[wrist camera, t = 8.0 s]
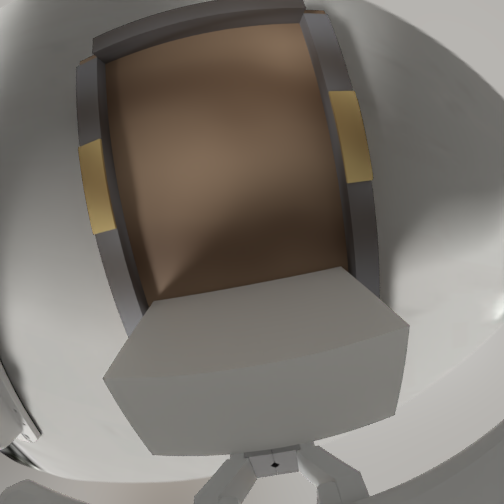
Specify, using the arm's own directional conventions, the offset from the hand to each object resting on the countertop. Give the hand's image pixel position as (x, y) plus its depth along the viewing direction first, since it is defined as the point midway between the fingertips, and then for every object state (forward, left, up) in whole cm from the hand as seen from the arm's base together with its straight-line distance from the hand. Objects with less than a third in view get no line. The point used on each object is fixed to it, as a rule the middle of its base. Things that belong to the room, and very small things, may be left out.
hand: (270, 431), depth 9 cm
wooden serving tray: (+6, 0, -7) cm, 9 cm away
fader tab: (+3, 0, -4) cm, 5 cm away
